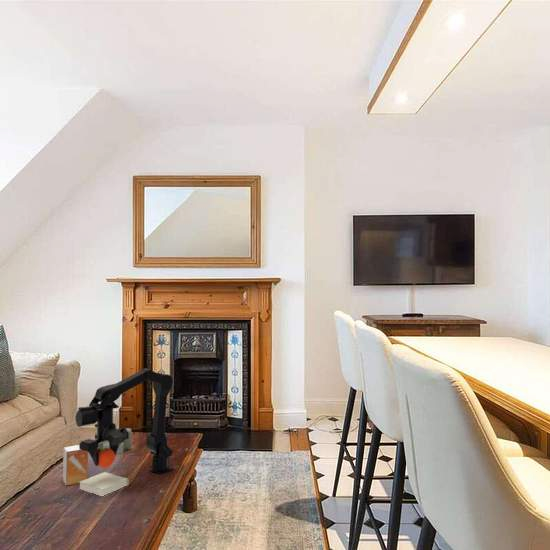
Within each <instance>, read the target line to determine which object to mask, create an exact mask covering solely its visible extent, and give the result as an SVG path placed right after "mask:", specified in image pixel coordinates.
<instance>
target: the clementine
mask: <svg viewBox="0 0 550 550" xmlns="http://www.w3.org/2000/svg"><path fill="white" fill-rule="evenodd" d="M115 460H116V455H115V453H114V452H113V450H111V449H109V448H104V449H101V450H100V451H99V463H98V466H99V467H100V468H104V469H105V468H109V467H111V465H113V463H115Z"/></svg>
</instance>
